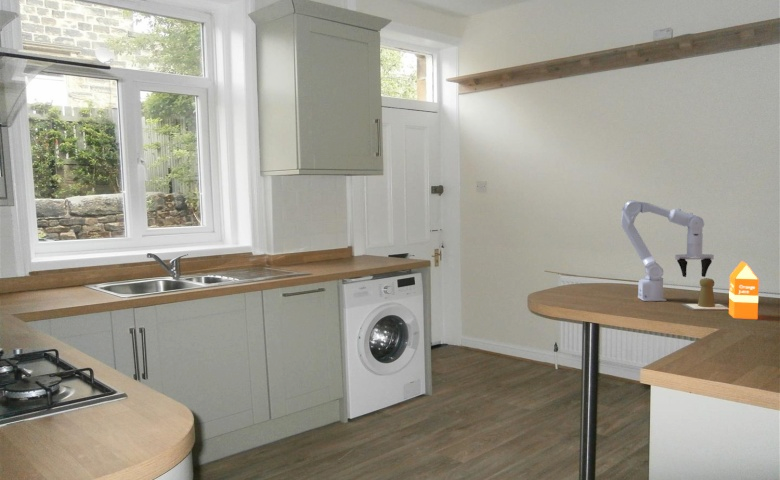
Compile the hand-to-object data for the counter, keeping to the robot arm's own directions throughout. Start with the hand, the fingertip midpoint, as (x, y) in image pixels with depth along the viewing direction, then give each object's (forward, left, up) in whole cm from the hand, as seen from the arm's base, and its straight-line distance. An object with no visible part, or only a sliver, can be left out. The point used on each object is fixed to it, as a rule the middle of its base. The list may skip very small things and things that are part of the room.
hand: (693, 276), depth 247 cm
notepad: (0, -14, -10) cm, 17 cm away
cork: (0, -13, -10) cm, 16 cm away
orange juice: (+6, -30, -11) cm, 32 cm away
